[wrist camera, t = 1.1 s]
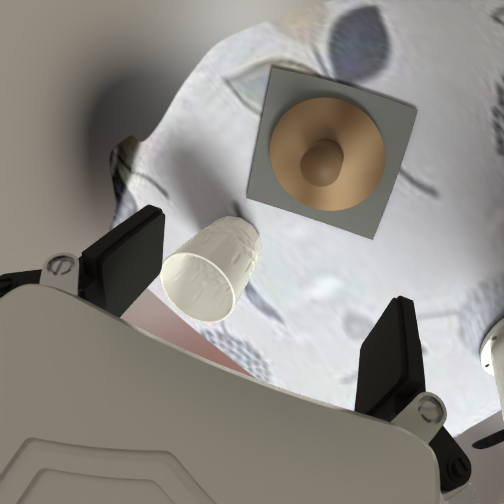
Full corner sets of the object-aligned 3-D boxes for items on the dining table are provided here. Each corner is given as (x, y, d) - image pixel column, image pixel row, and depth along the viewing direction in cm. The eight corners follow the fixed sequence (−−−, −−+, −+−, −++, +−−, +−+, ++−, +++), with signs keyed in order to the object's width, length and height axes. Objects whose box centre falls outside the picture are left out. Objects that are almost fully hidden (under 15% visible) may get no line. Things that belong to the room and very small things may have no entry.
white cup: (197, 213, 36) (149, 253, 28) (260, 207, 33) (222, 251, 25) (214, 270, 39) (174, 319, 31) (272, 270, 36) (243, 325, 28)
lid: (398, 119, 24) (408, 124, 19) (364, 222, 30) (363, 249, 25) (284, 85, 26) (266, 83, 21) (262, 189, 32) (242, 208, 27)
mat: (416, 110, 23) (417, 110, 22) (372, 238, 30) (372, 239, 30) (273, 68, 25) (272, 67, 25) (247, 196, 33) (246, 197, 33)
